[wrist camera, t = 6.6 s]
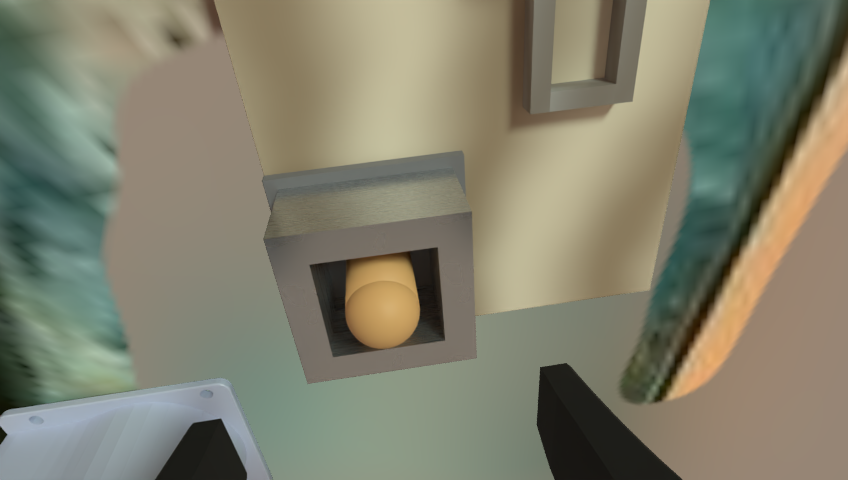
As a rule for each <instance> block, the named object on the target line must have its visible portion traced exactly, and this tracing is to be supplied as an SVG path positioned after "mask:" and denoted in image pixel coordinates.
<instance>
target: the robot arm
mask: <svg viewBox="0 0 848 480" xmlns="http://www.w3.org/2000/svg"><path fill="white" fill-rule="evenodd" d="M206 390H209V391H206ZM0 426H1V427H2V428H3V430H4V431H5V432H6V433H7V434H8V435H7V436H6V438H5V439H4V441H3V442H2V444H1V445H0V480H273V477H272V475H271V473H270V470H269V468H268V466H267V464H266V462H265V459H264V457H263V455H262V452H261V450H260V447H259V445H258V443H257V441H256V438H255V436H254V434H253V431H252V429H251V427H250V424H249V422H248V420H247V418H246V415H245V413H244V411H243V408H242V406H241V404H240V401H239V399H238V397H237V395H236V393H235V390H234V388H233V385H232V384H231V382H230V381H228V380H227V379H224V378H214V379H207V380H201V381H194V382H188V383H181V384H175V385H168V386H161V387H155V388H148V389H142V390H135V391H128V392H122V393H115V394H109V395H102V396H96V397H89V398H82V399H76V400H69V401H63V402H56V403H50V404H43V405H36V406H30V407H23V408H17V409H10V410H7V411H5V412H4V413H3V414H2V415H1V417H0ZM537 427H538V430H539V434H540V437H541V440H542V443H543V447H544V450H545V454H546V457H547V460H548V463H549V466H550V469H551V472H552V474H553V476H554V479H555V480H682V479H681V478H680V477H679V476H678V475H677V474H676V473H675V472H674V471H672V470H671V469H670V468H669V467H668V466H667V465H666V464H664V462H662V461H661V460H660V459H659V458H658V457H657V456H656V455H655V454H654V453H653V452H652V451H651V450H650V449H649V448H648V447H646V446H645V445H644V444H643V443H642V442H641V441H640V440H639V439H638V438H637V437H636V436H635V435H634V434H633V433H632V432H631V431H630V430H629V429H628V428H627V427H626V426H625V425H624V424H623V423H622V422H621V421H620V420H619V419H618V418H617V417H616V416H615V415H614V414H613V413H612V412H611V410H610V409H609V408H608V407H607V406H606V405H605V404H604V403H603V402H602V401H601V400H600V399H599V398H598V397H597V396H596V394H595V393H594V392H593V391H592V390H591V389H590V388H589V387H588V386H587V385H586V383H585V382H584V381H583V380H582V379H581V378H580V377H579V376H578V374H577V373H576V372H575V371H574V370H573V369H572V367H570V366H569V365H568V364H567V363H564V364H558V365H552V366H545V367H540V381H539V397H538V413H537Z"/></svg>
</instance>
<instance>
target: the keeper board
mask: <svg viewBox="0 0 848 480" xmlns="http://www.w3.org/2000/svg"><path fill="white" fill-rule="evenodd" d="M214 3H215V6H216V9H217V13H218V16H219V20H220V23H221V27H222V30H223V34H224V37H225V41H226V44H227V48H228V51H229V55H230V58H231V62H232V65H233V69H234V72H235V75H236V79H237V83H238V86H239V90H240V93H241V97H242V100H243V104H244V107H245V111H246V114H247V118H248V121H249V125H250V128H251V132H252V135H253V139H254V142H255V146H256V149H257V153H258V156H259V160H260V163H261V167H262V170H263V173H264V176H265V175H273V174H281V173H289V172H297V171H304V170H312V169H320V168H328V167H335V166H343V165H351V164H359V163H367V162H374V161H382V160H390V159H398V158H406V157H413V156H421V155H429V154H437V153H445V152H452V151H460V150H462V152H463V154H464V163H465V186H466V199H467V201H468V204H469V206H470V208H471V211H472V231H473V262H474V293H475V316H479V315H485V314H492V313H499V312H505V311H512V310H519V309H526V308H532V307H539V306H545V305H553V304H559V303H566V302H572V301H579V300H585V299H592V298H599V297H605V296H613V295H620V294H626V293H632V292H639V291H646V290H650V285H651V280H652V276H653V270H654V266H655V261H656V257H657V252H658V247H659V242H660V237H661V233H662V228H663V223H664V218H665V213H666V209H667V204H668V199H669V194H670V190H671V185H672V180H673V175H674V170H675V165H676V161H677V156H678V151H679V146H680V142H681V137H682V132H683V127H684V123H685V118H686V113H687V108H688V103H689V99H690V94H691V89H692V84H693V79H694V75H695V70H696V65H697V60H698V56H699V51H700V46H701V41H702V36H703V32H704V27H705V22H706V17H707V12H708V8H709V3H710V0H214Z"/></svg>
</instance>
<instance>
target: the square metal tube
mask: <svg viewBox="0 0 848 480" xmlns="http://www.w3.org/2000/svg"><path fill="white" fill-rule="evenodd" d="M264 243H265V246H266V249H267V252H268V256H269V259H270V262H271V265H272V269H273V272H274V275H275V279H276V282H277V285H278V288H279V292H280V295H281V298H282V301H283V305H284V308H285V311H286V314H287V318H288V321H289V324H290V328H291V331H292V334H293V337H294V341H295V344H296V347H297V350H298V354H299V357H300V360H301V363H302V367H303V370H304V373H305V376H306V380H307V382H308V384H310V383H316V382H322V381H329V380H335V379H342V378H349V377H356V376H362V375H369V374H375V373H381V372H388V371H394V370H402V369H408V368H415V367H421V366H428V365H434V364H441V363H447V362H454V361H461V360H467V359H474V358H477V355H476V325H475V293H474V262H473V231H472V211H471V208H470V206H469V204H468V201H467V199H466V197H465V194H464V192H463V190H462V188H461V185H460V183H459V181H458V178H457V176H456V174H455V171H454V169H453V167H451V168H443V169H435V170H427V171H419V172H411V173H404V174H396V175H388V176H380V177H372V178H364V179H356V180H348V181H341V182H333V183H325V184H317V185H309V186H301V187H293V188H285V189H278V191H277V195H276V198H275V202H274V205H273V208H272V212H271V215H270V219H269V222H268V225H267V229H266V232H265V236H264ZM428 248H429V253H430V264H431V275H432V284H431V285H424V286H417V287H416V288H417V293H418V299H419V304H420V316H419V321H418V324H417V327H416V329H415V330H414V332H413V333H412V335H411V336H410V337H409V338H408V339H407V340H406V341H404V342H403V343H401V344H400V345H398V346H395V347H392V348H387V349H377V348H372V347H369V346H367V345H365V344H363V343H361V342H360V341H359V340H358V339H357V338H356V337H355V336H354V335H353V334H352V333H351V331H350V329H349V327H348V325H347V321H346V316H345V297H339V298H336V297H335V293H334V289H333V284H332V280H331V275H330V271H329V267H328V262H333V261H340V260H348V259H355V258H362V257H369V256H377V255H384V254H391V253H399V252H406V251H413V250H421V249H428Z"/></svg>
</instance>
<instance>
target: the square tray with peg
mask: <svg viewBox="0 0 848 480" xmlns="http://www.w3.org/2000/svg"><path fill="white" fill-rule="evenodd" d="M451 167H453V169H454V171H455V174H456V176H457V178H458V181H459V183H460V185H461V188H462V190H463V192H464V194H465V197H466V186H465V163H464V154H463V152H462V150H460V151H452V152H445V153H437V154H429V155H421V156H413V157H406V158H398V159H390V160H382V161H374V162H367V163H359V164H351V165H343V166H335V167H328V168H320V169H312V170H304V171H297V172H289V173H281V174H273V175H265V176H264V177H263V180H262V182H263V186H264V189H265V193H266V196H267V199H268V203H269V206H270V210H271V212H272V208H273V205H274V202H275V198H276V195H277V191H278V189H285V188H293V187H301V186H309V185H317V184H325V183H333V182H341V181H348V180H356V179H364V178H372V177H380V176H388V175H396V174H404V173H411V172H419V171H427V170H435V169H443V168H451ZM328 267H329V271H330V275H331V280H332V284H333V289H334V293H335V297H336V298H339V297H345V316H346V321H347V325H348V327H349V329H350V331H351V333H352V334H353V335H354V336H355V337H356V338H357V339H358V340H359V341H360V342H361V343H363V344H365V345H367V346H369V347H372V348H377V349H387V348H392V347H395V346H398V345H400V344H401V343H403V342H404V341H406V340H407V339H408V338H409V337H410V336H411V335H412V333H413V332H414V330H415V329H416V327H417V324H418V321H419V316H420V304H419V299H418V293H417V288H416V287H417V286H424V285H431V284H432V275H431V264H430V253H429V248H428V249H421V250H413V251H406V252H399V253H391V254H384V255H377V256H369V257H362V258H355V259H348V260H340V261H333V262H328Z"/></svg>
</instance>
